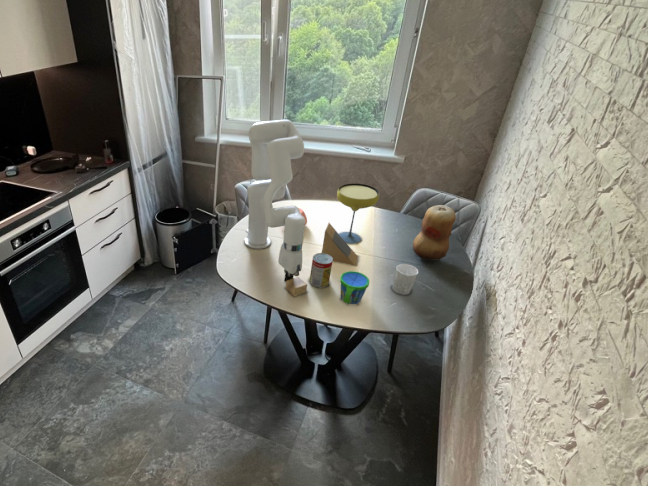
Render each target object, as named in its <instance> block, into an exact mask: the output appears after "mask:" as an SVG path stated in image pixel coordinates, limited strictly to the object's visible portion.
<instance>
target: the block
mask: <svg viewBox="0 0 648 486" xmlns="http://www.w3.org/2000/svg"><path fill="white" fill-rule="evenodd" d="M307 289H308V283H306V282H305V281H304V280H303V279H302V278H300V277H299V276H295V277H293V279H290V280H287V281H286V282H285V290H287V291H288V293H290V294H291V295H292V296H293V297H296V296H299V295H302V294H304V293H307V291H308V290H307Z"/></svg>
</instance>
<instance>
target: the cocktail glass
mask: <svg viewBox="0 0 648 486" xmlns="http://www.w3.org/2000/svg"><path fill="white" fill-rule="evenodd" d="M336 199H337V200H338V201H339V203H341V204H342V205H344V206H346V207H348V208H350V209H351V210H352V212H353V213H352V219H351V223H350V228H349V231H344V232H340V233H338V234H339V235H340V236H341V237H342V239H343V240H344V241H345V242H346V243H347V244H348V245H349V244H350V245H355V244H358V243H361V240H362V237H361V235H358V234H357V233H355V232H352V231H353V225H354V219H355V214H356V212H357V211H359V210H360V209H361V210H362V209H367V208H371V207H372V206H374V205H376V204H377V203H378V202H379V199H380V191H379V190H378V189H377V188H376V187H374V186H371V185H368V184H365V183H346V184H343V185H340V186H339V187H338V189H337V191H336Z"/></svg>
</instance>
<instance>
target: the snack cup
mask: <svg viewBox="0 0 648 486" xmlns="http://www.w3.org/2000/svg"><path fill="white" fill-rule="evenodd" d="M339 283H340V300H341V301H342V302H343V303H344V304H346V305H358V304H359V303H361V301H362V299H363V297H364V295H365V293H366V291H367V289H368V287H369V286H370V279H369V277H368V276H367V275H365V274H364V273H362V272H359V271H354V270H348V271H345V272H343V273H341V275H340V277H339Z"/></svg>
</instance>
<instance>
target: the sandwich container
mask: <svg viewBox="0 0 648 486" xmlns="http://www.w3.org/2000/svg"><path fill="white" fill-rule="evenodd" d="M339 234H340V233H338V232H337V230H336V229H335V228H334V226H333V225H332V224H331V223H330V222H328V223H327V225H326V228H325V230H324V236H323V240H322V241H323V243H322V248H321V253H325V254H328V255H330V256H331V257H332V258H333V262H334V263H339V264H345V265H350V266H357V262H358V258H359V256H358V255H357V254H356V253H355V251H354V250H353V249H352V248H351V246H350V245H349V243H346V242H345V241H344V240H343V239H342V237H341V236H340V235H339ZM333 262H332V263H333Z"/></svg>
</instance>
